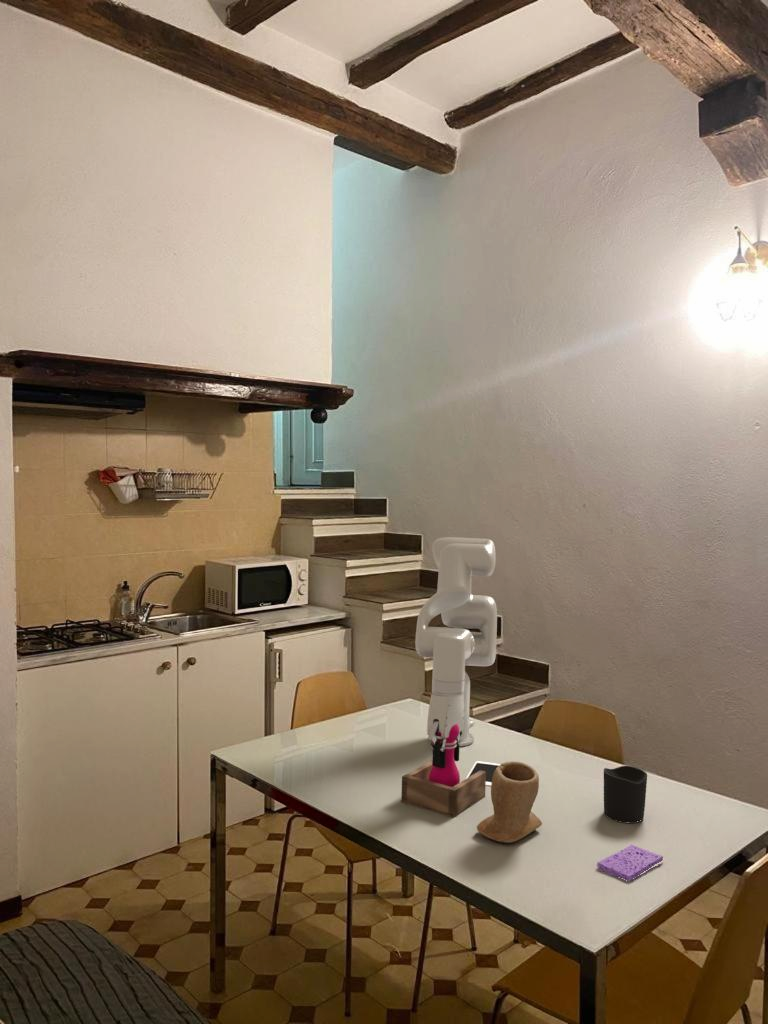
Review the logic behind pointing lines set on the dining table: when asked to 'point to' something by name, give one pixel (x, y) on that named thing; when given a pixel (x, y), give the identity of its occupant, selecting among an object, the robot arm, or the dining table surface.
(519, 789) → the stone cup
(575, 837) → the dining table surface
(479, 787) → the holder
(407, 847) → the dining table surface
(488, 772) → the cell phone
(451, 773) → the pepper mill
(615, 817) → the pen holder
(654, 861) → the sponges
